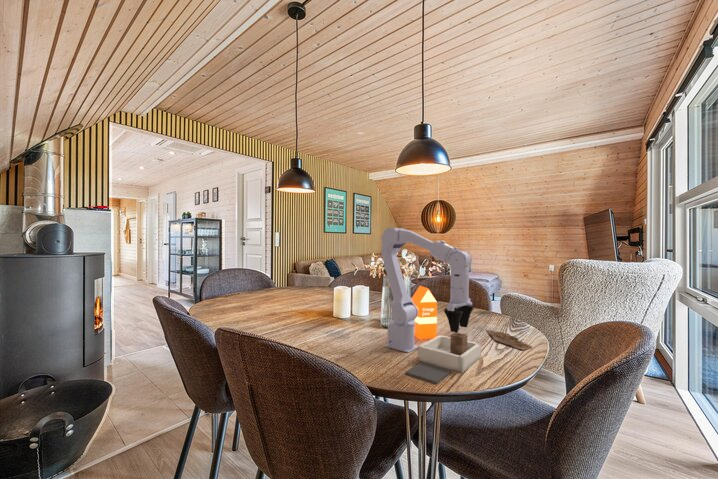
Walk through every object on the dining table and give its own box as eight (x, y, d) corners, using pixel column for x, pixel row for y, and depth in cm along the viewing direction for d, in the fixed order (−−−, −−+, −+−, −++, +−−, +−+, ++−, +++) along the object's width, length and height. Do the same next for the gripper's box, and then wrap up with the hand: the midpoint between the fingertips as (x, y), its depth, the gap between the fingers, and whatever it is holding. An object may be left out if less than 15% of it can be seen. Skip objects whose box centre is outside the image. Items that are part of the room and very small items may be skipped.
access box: (417, 360, 104) (417, 346, 104) (439, 347, 117) (440, 334, 117) (462, 372, 95) (462, 357, 95) (481, 357, 107) (481, 343, 107)
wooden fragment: (538, 351, 114) (538, 348, 114) (509, 352, 113) (509, 349, 113) (501, 330, 140) (501, 328, 140) (477, 331, 139) (477, 328, 139)
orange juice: (419, 339, 126) (419, 288, 126) (410, 332, 134) (410, 285, 134) (437, 338, 127) (437, 288, 127) (427, 331, 136) (427, 285, 136)
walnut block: (450, 353, 103) (450, 335, 103) (455, 350, 107) (455, 332, 106) (462, 356, 101) (462, 337, 101) (467, 353, 104) (467, 334, 104)
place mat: (405, 373, 93) (405, 371, 93) (421, 363, 101) (421, 361, 101) (436, 384, 87) (436, 381, 87) (451, 372, 95) (451, 370, 95)
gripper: (463, 291, 95) (462, 336, 96) (479, 286, 107) (479, 326, 107) (441, 289, 100) (440, 332, 100) (459, 284, 111) (458, 323, 111)
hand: (459, 329), depth 104 cm, fingers open, 7 cm apart
